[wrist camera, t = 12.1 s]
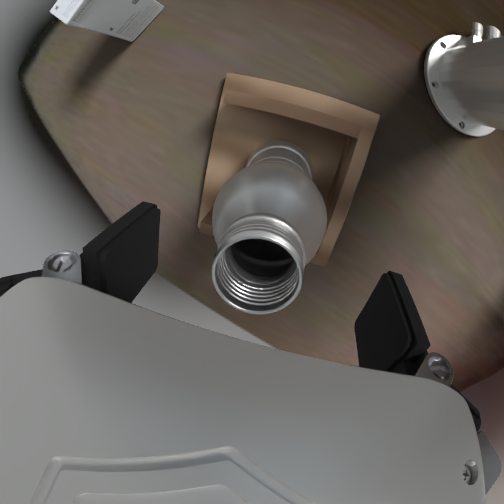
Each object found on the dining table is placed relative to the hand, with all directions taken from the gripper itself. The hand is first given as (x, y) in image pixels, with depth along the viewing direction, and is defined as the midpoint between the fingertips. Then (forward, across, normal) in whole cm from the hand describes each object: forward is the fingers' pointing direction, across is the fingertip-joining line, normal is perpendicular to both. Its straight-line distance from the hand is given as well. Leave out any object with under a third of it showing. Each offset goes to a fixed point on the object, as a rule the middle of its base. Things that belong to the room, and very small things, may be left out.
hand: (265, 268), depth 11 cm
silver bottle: (+20, +1, +1) cm, 20 cm away
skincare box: (+21, +21, -15) cm, 34 cm away
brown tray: (+21, 0, +1) cm, 21 cm away
